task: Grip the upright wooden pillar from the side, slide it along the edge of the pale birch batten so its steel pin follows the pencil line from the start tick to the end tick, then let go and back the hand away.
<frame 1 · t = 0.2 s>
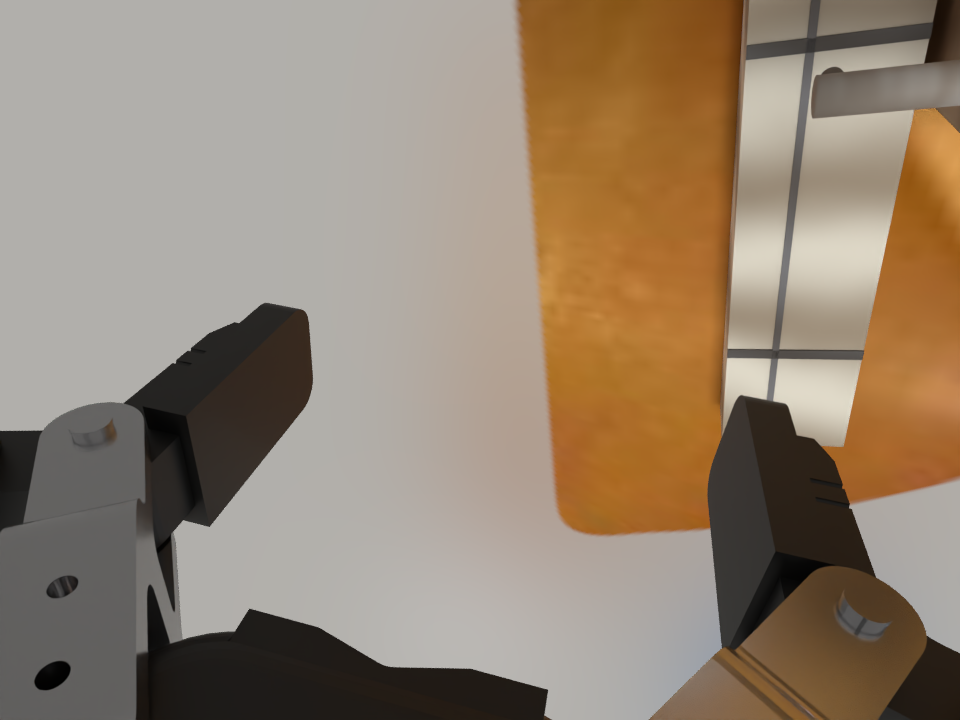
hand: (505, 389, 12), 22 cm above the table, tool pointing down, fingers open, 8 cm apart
batten: (807, 150, 28), on the table
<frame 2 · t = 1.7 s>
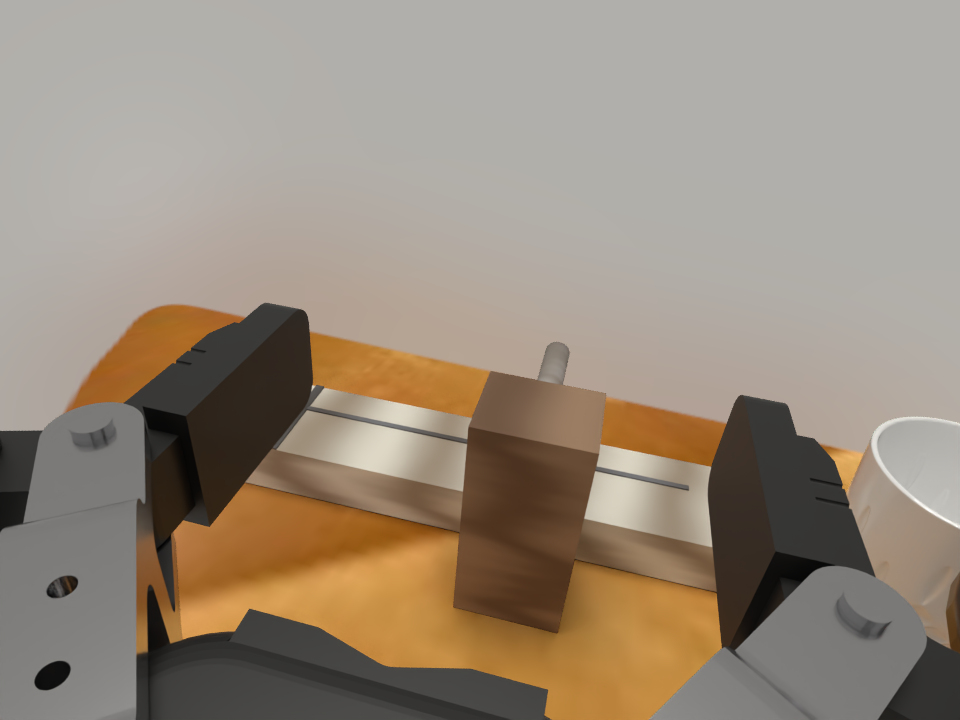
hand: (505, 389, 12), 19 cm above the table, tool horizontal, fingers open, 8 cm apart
white cup: (875, 629, 31), on the table
upright wooden pillar: (512, 585, 32), on the table
batten: (446, 487, 37), on the table
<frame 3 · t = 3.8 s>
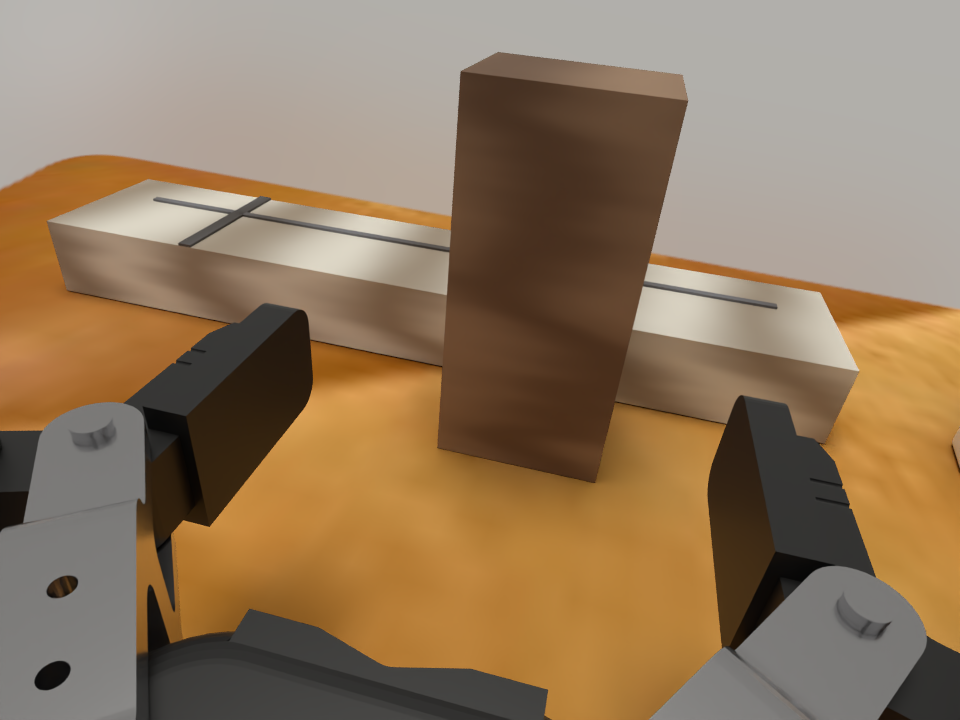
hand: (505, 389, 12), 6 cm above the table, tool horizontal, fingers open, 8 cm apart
upright wooden pillar: (525, 426, 21), on the table
batten: (433, 323, 27), on the table
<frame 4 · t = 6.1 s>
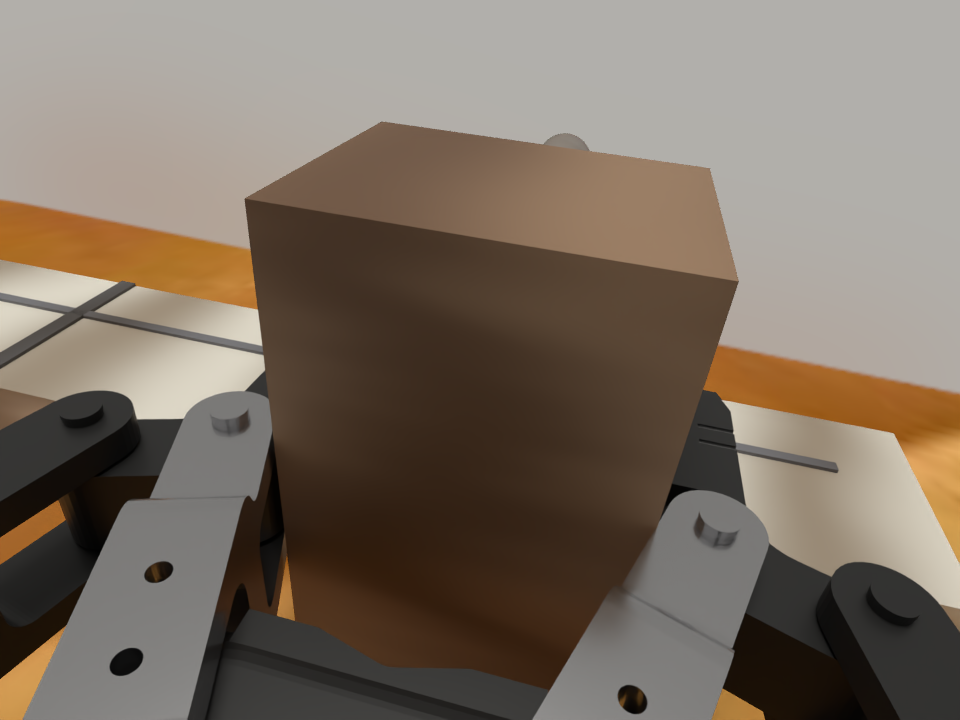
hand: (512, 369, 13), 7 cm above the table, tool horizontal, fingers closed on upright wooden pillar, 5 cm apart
upright wooden pillar: (458, 682, 14), on the table, touching gripper
batten: (347, 467, 19), on the table
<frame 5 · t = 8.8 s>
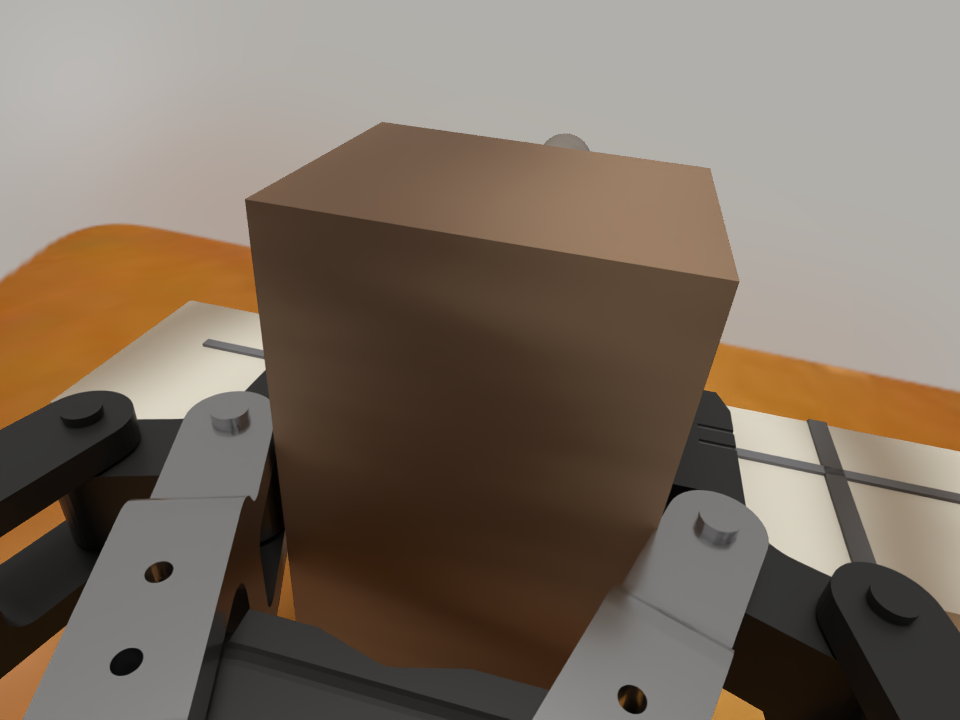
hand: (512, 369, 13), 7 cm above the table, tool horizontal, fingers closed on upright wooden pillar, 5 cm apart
upright wooden pillar: (459, 682, 14), on the table, touching gripper
batten: (615, 531, 18), on the table
when the fingers open (7 cm above the table, at t = 11.4 s): upright wooden pillar stays where it is, on the table.
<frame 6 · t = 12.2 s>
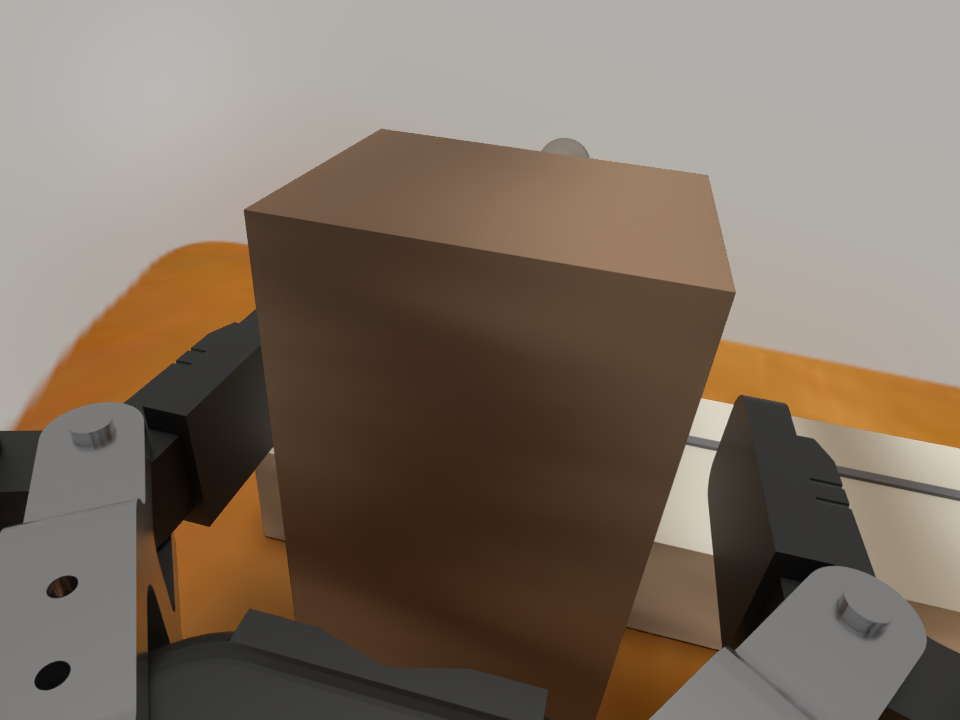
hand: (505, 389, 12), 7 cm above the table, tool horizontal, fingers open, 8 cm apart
upright wooden pillar: (459, 686, 14), on the table
batten: (837, 582, 17), on the table
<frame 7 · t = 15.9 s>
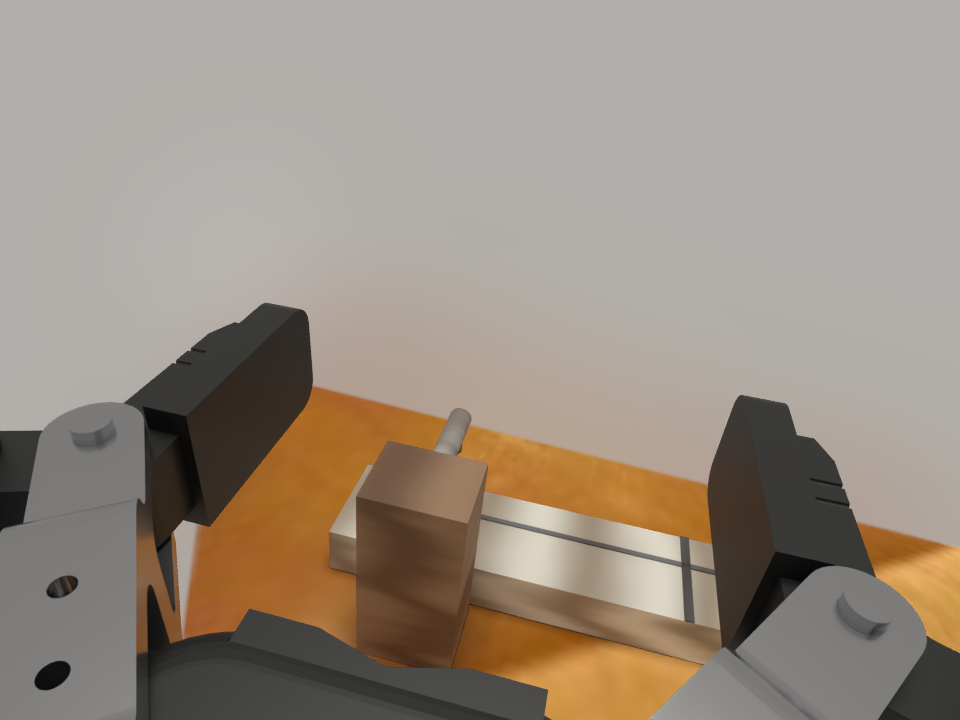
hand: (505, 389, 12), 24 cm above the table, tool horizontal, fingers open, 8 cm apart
upright wooden pillar: (414, 630, 35), on the table
batten: (587, 590, 38), on the table
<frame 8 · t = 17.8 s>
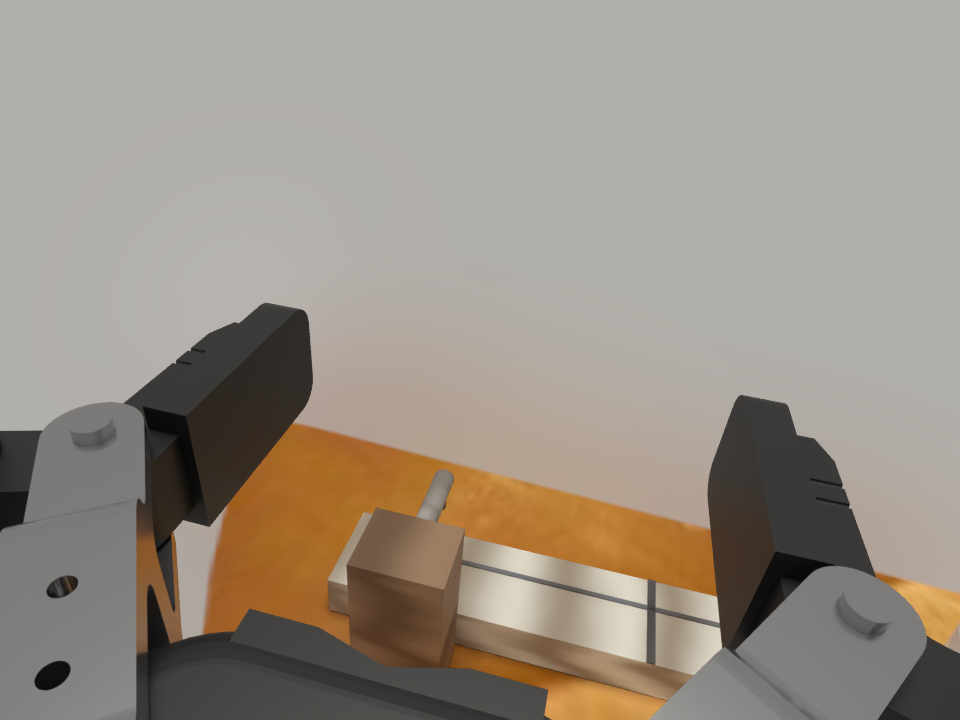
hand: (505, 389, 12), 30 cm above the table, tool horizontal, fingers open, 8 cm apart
upright wooden pillar: (404, 670, 39), on the table
batten: (563, 629, 42), on the table
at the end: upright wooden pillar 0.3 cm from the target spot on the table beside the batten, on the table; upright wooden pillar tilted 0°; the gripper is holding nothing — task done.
